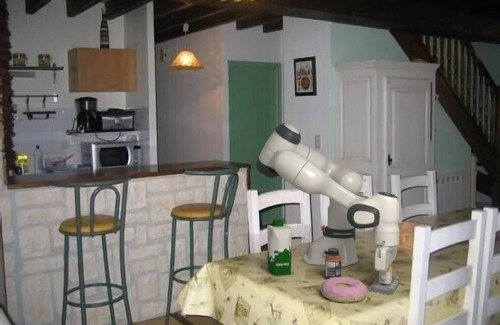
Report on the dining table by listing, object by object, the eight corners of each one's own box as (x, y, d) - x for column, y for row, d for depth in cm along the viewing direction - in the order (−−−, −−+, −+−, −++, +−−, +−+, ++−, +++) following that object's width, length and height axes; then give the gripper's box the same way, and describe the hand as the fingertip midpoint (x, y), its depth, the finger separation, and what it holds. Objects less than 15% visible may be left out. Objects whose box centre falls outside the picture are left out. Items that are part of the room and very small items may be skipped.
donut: (342, 308, 159) (343, 293, 159) (311, 294, 172) (311, 280, 172) (377, 298, 168) (377, 284, 168) (344, 285, 181) (344, 272, 180)
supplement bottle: (330, 275, 192) (330, 245, 191) (344, 278, 188) (344, 248, 187) (322, 279, 188) (322, 249, 187) (336, 282, 184) (336, 251, 183)
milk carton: (286, 268, 201) (286, 218, 199) (294, 275, 192) (294, 223, 191) (265, 270, 199) (265, 219, 197) (272, 277, 190) (272, 224, 188)
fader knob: (381, 279, 182) (381, 265, 181) (392, 281, 180) (392, 266, 180) (378, 282, 179) (379, 268, 178) (389, 284, 177) (390, 269, 176)
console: (378, 279, 187) (378, 273, 187) (400, 282, 183) (400, 276, 183) (369, 291, 175) (369, 284, 174) (392, 294, 171) (392, 288, 171)
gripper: (389, 246, 167) (388, 287, 169) (400, 233, 185) (399, 270, 187) (370, 244, 170) (369, 284, 171) (383, 231, 188) (382, 267, 190)
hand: (385, 276), depth 179 cm, fingers closed on fader knob, 4 cm apart
